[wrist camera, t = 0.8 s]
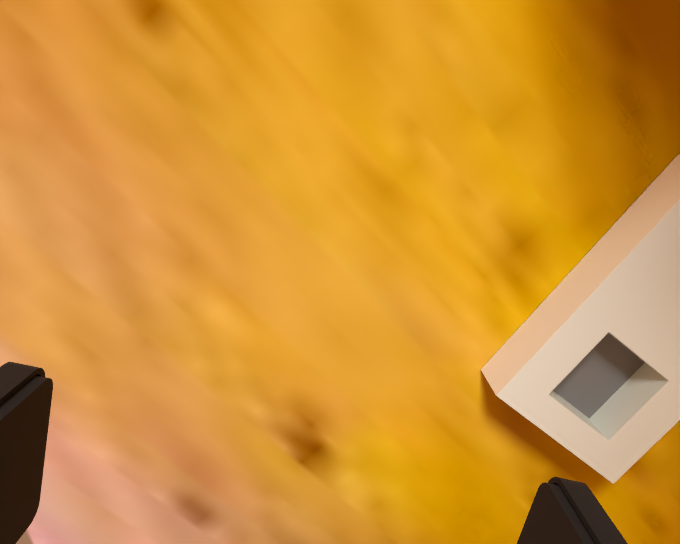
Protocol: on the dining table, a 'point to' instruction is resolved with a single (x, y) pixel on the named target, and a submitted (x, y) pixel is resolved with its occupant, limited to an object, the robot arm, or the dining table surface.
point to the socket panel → (606, 341)
